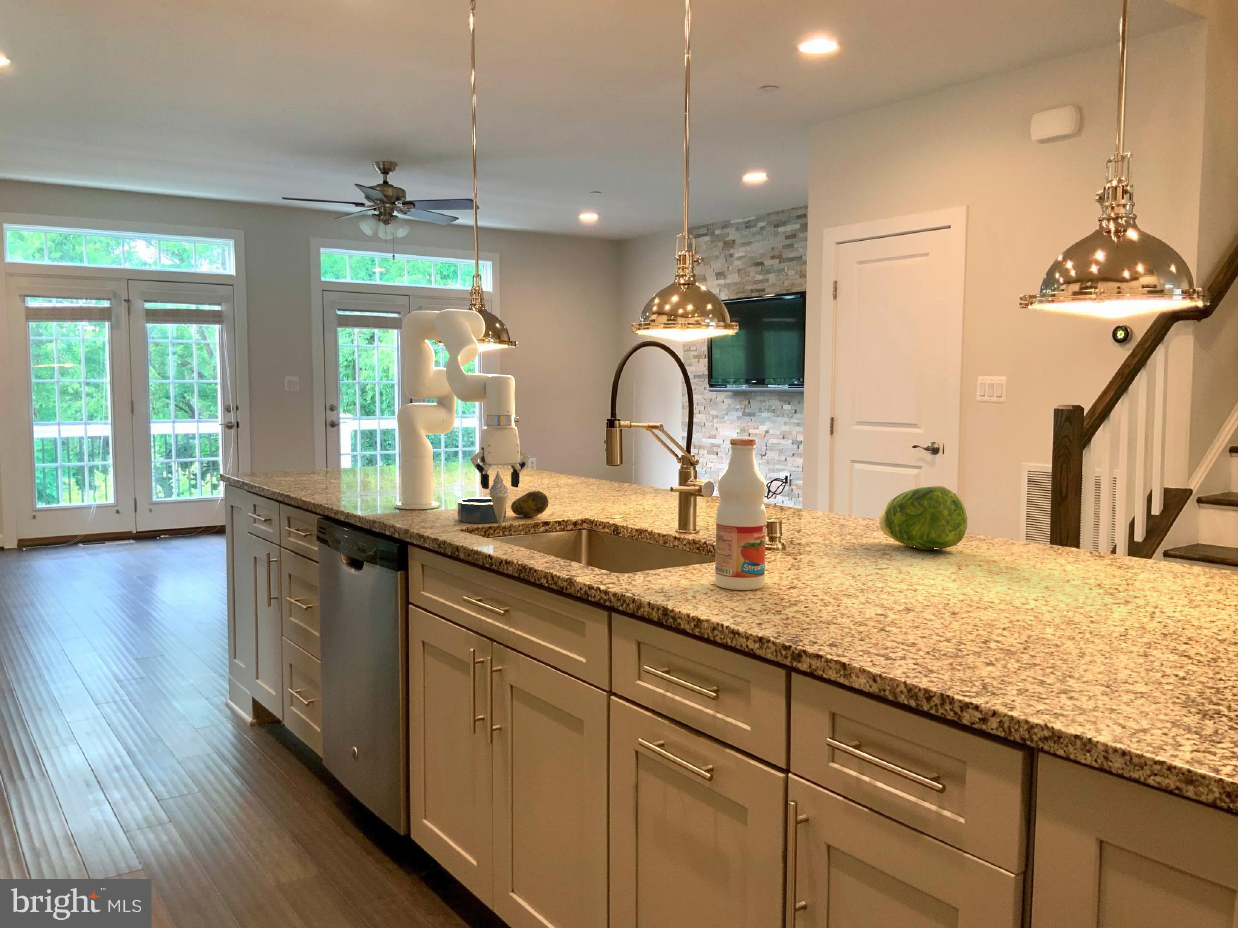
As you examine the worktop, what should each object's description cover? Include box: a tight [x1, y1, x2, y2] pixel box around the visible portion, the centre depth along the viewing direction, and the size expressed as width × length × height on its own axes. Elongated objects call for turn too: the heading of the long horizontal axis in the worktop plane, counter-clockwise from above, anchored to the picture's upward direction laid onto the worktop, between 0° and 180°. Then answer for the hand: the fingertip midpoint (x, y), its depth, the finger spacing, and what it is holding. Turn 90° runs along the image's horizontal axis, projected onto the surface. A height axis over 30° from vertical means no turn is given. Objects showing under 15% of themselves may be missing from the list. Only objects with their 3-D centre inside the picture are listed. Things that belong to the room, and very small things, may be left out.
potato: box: [510, 490, 550, 518], centre depth 263 cm, size 8×13×8 cm, turn 27°
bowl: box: [456, 497, 507, 524], centre depth 257 cm, size 13×13×6 cm
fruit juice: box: [714, 438, 767, 591], centre depth 176 cm, size 9×9×28 cm
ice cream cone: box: [488, 470, 509, 527], centre depth 247 cm, size 5×5×15 cm
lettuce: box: [878, 485, 968, 552], centre depth 220 cm, size 16×21×15 cm
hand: (500, 487), depth 246 cm, fingers open, 8 cm apart
